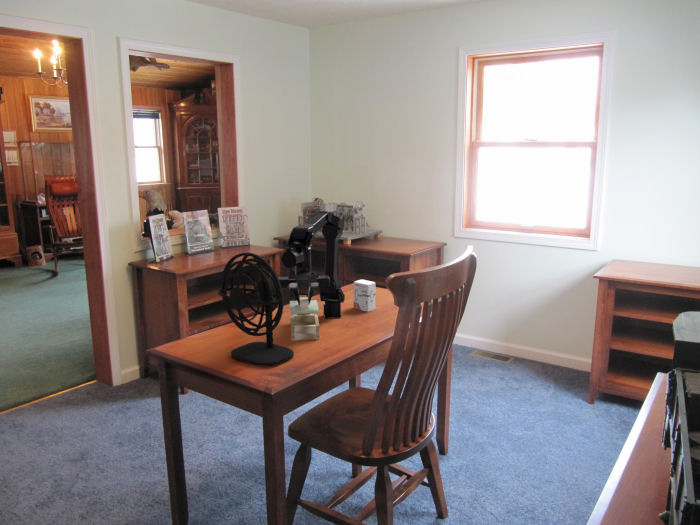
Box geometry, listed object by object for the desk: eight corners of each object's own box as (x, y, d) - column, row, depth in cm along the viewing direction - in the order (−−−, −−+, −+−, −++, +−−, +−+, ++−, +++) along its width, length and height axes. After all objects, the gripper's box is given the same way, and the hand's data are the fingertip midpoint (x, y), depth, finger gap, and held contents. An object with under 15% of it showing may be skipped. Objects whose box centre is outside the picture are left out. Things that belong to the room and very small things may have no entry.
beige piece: (316, 321, 218) (316, 307, 217) (319, 339, 199) (319, 323, 198) (290, 323, 217) (290, 308, 216) (291, 340, 198) (290, 324, 197)
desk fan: (211, 356, 183) (204, 251, 176) (250, 341, 197) (245, 243, 190) (271, 375, 168) (266, 261, 161) (309, 357, 182) (306, 251, 174)
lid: (316, 302, 210) (316, 293, 210) (319, 313, 197) (318, 303, 196) (289, 303, 209) (289, 294, 208) (290, 314, 196) (290, 304, 195)
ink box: (352, 308, 236) (352, 281, 234) (360, 305, 240) (360, 279, 238) (368, 312, 231) (368, 284, 228) (376, 309, 234) (376, 282, 232)
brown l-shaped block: (306, 304, 220) (306, 295, 219) (307, 309, 213) (307, 300, 212) (299, 304, 220) (298, 295, 219) (299, 309, 213) (299, 300, 212)
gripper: (276, 268, 190) (277, 312, 193) (331, 266, 192) (331, 310, 195) (276, 261, 201) (278, 303, 204) (328, 259, 203) (329, 301, 206)
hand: (304, 304), depth 202 cm, fingers closed on lid, 3 cm apart
